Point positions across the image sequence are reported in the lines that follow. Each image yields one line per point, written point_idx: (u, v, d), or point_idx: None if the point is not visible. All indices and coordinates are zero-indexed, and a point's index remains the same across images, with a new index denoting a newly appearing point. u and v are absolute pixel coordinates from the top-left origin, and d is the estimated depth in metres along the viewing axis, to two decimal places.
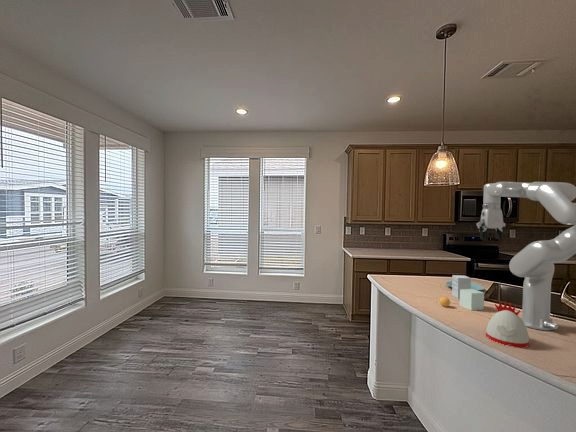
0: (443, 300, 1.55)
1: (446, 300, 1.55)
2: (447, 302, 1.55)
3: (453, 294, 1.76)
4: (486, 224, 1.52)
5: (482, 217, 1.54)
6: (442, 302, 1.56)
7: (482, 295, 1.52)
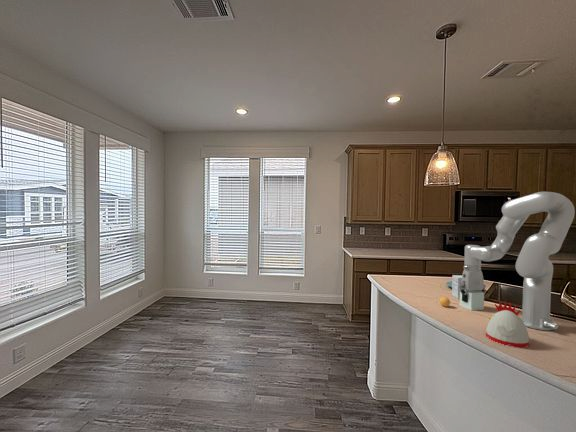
0: (443, 300, 1.55)
1: (446, 300, 1.55)
2: (447, 302, 1.55)
3: (453, 294, 1.76)
4: (467, 286, 1.53)
5: (463, 278, 1.55)
6: (442, 302, 1.56)
7: (482, 295, 1.52)
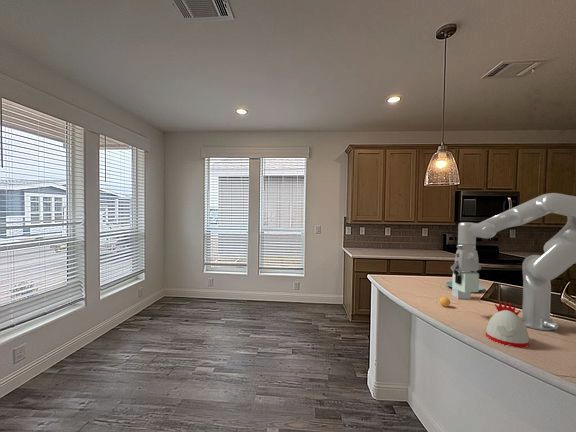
0: (443, 300, 1.55)
1: (446, 300, 1.55)
2: (447, 302, 1.55)
3: (453, 294, 1.76)
4: (460, 267, 1.41)
5: (456, 258, 1.43)
6: (442, 302, 1.56)
7: (476, 276, 1.40)
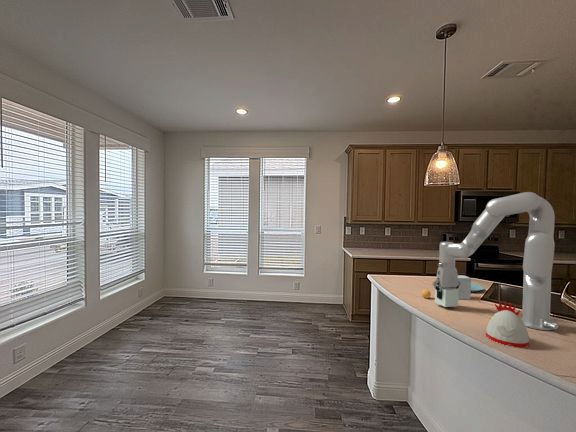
0: (424, 293, 1.70)
1: (427, 293, 1.70)
2: (428, 295, 1.70)
3: None
4: (441, 283, 1.53)
5: (437, 275, 1.55)
6: (423, 294, 1.71)
7: (456, 292, 1.53)
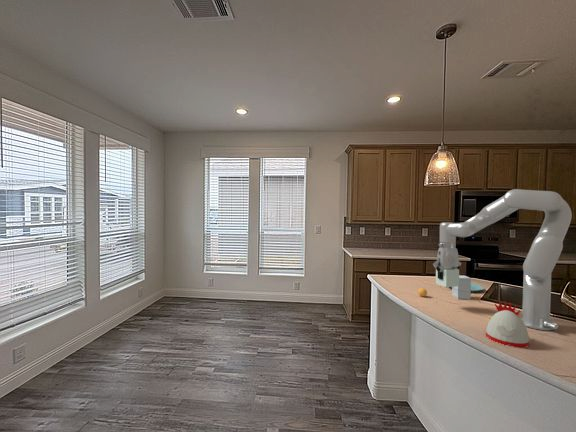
0: (419, 289, 1.75)
1: (421, 288, 1.75)
2: (423, 289, 1.74)
3: (453, 294, 1.76)
4: (441, 263, 1.53)
5: (438, 256, 1.55)
6: (419, 291, 1.74)
7: (457, 272, 1.52)
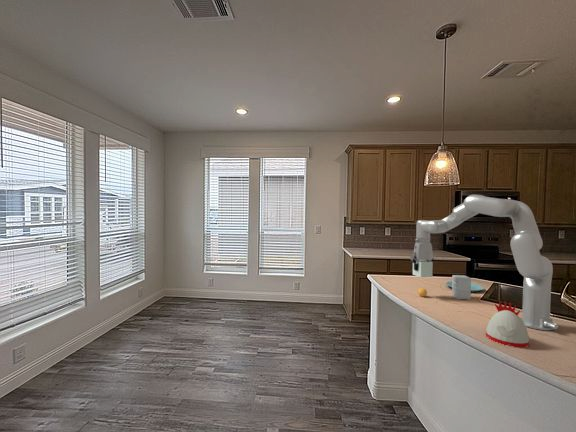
0: (419, 289, 1.75)
1: (421, 288, 1.75)
2: (423, 289, 1.74)
3: (453, 294, 1.76)
4: (417, 256, 1.72)
5: (414, 250, 1.75)
6: (419, 291, 1.74)
7: (430, 264, 1.72)
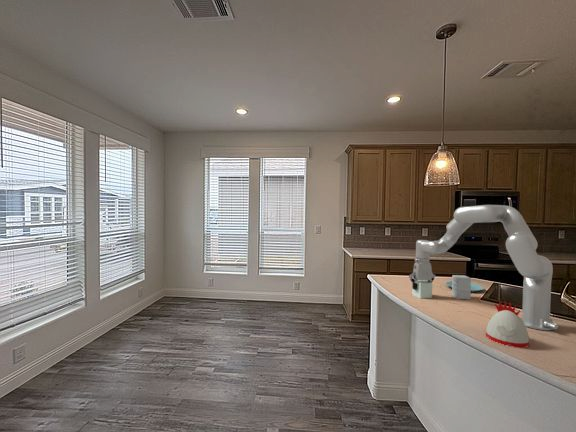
0: None
1: None
2: None
3: (453, 294, 1.76)
4: (416, 277, 1.72)
5: (414, 270, 1.75)
6: None
7: (430, 285, 1.72)
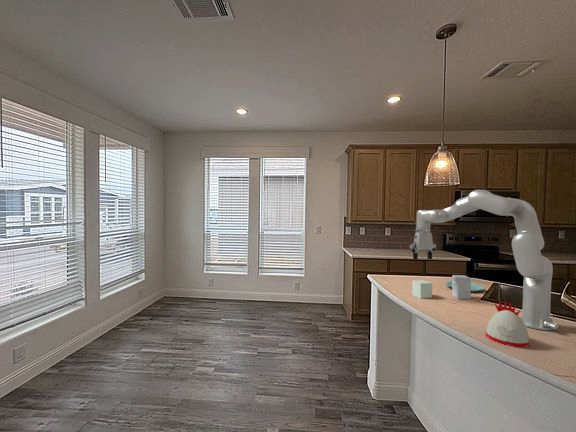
0: None
1: None
2: None
3: (453, 294, 1.76)
4: (417, 246, 1.72)
5: (415, 240, 1.75)
6: None
7: (430, 285, 1.72)
